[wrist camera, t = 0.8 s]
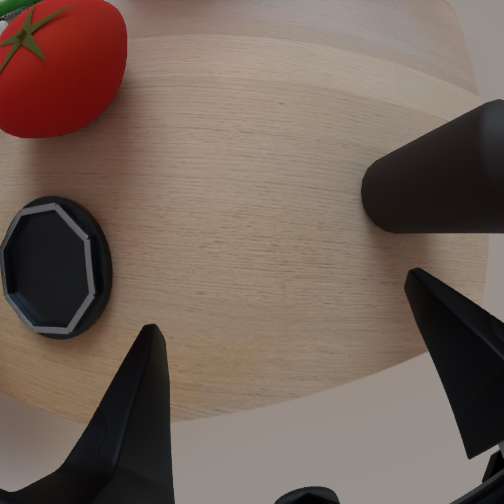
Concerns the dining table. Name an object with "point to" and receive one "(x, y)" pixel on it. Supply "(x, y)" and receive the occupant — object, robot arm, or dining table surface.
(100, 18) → the tomato
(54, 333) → the stand
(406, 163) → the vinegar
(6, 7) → the green onion
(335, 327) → the dining table surface
